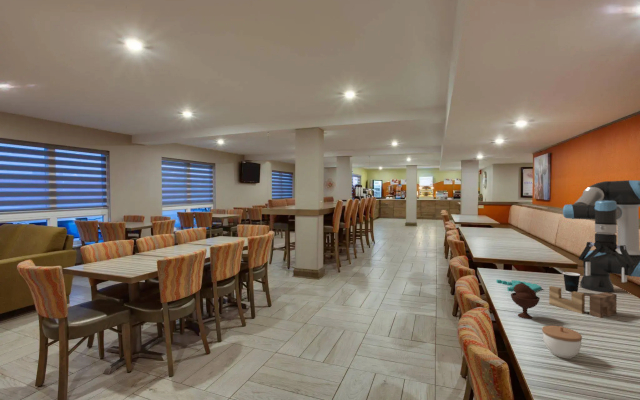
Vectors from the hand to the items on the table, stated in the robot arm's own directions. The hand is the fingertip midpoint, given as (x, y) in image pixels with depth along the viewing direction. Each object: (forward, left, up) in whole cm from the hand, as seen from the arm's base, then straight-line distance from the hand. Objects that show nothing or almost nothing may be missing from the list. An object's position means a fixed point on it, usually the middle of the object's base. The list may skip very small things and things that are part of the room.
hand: (605, 278), depth 144 cm
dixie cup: (-24, -26, -17) cm, 39 cm away
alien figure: (-7, -45, -17) cm, 48 cm away
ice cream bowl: (+39, -13, -17) cm, 44 cm away
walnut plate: (+2, 0, -17) cm, 17 cm away
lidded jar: (+62, +14, -17) cm, 66 cm away
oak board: (+9, -12, -17) cm, 22 cm away
